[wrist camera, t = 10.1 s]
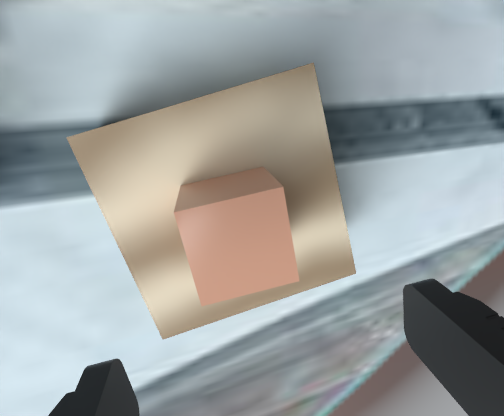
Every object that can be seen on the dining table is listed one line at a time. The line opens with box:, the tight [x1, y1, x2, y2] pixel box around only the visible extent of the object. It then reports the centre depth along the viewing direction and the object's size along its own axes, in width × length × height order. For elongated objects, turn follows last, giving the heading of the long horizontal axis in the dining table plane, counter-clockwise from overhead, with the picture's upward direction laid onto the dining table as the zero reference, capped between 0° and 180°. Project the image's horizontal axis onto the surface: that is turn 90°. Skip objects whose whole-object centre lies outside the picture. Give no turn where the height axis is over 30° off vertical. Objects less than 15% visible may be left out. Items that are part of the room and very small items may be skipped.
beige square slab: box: [67, 63, 356, 339], centre depth 23 cm, size 14×14×6 cm
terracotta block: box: [174, 167, 299, 306], centre depth 18 cm, size 5×5×5 cm
